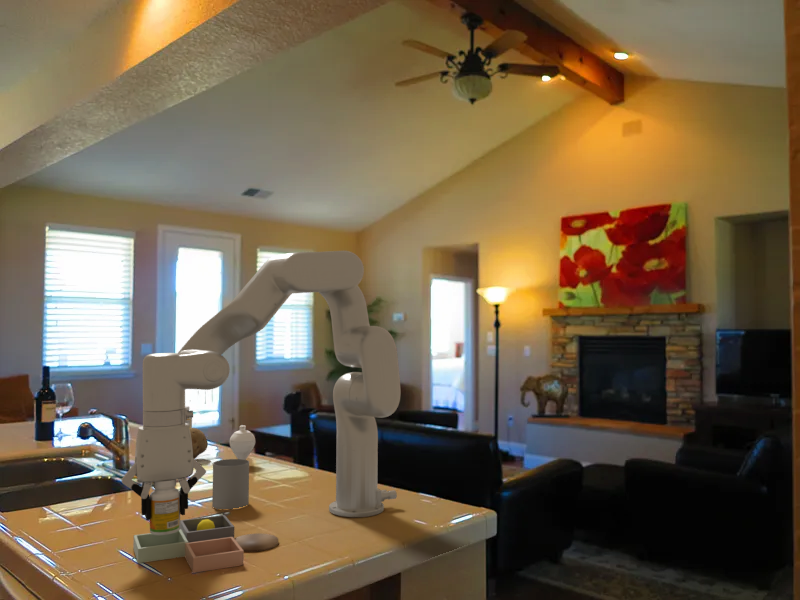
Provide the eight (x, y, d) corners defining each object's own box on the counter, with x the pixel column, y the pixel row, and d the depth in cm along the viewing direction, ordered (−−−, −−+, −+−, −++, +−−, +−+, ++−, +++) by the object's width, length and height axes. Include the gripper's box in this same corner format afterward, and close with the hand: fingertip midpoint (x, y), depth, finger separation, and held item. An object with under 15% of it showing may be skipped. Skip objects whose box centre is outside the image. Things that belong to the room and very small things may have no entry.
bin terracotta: (232, 550, 124) (232, 536, 124) (243, 564, 117) (243, 550, 117) (185, 557, 120) (185, 543, 121) (193, 572, 113) (193, 558, 113)
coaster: (271, 534, 134) (271, 531, 134) (284, 547, 126) (284, 544, 126) (226, 540, 130) (226, 537, 130) (236, 554, 122) (236, 551, 122)
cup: (238, 511, 151) (239, 467, 151) (205, 509, 152) (206, 465, 153) (254, 501, 159) (254, 459, 159) (222, 499, 161) (223, 458, 161)
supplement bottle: (154, 527, 126) (154, 476, 126) (183, 526, 127) (182, 475, 127) (146, 536, 121) (145, 483, 121) (176, 535, 121) (175, 482, 121)
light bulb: (205, 540, 130) (198, 523, 130) (194, 541, 135) (187, 525, 135) (220, 531, 132) (213, 515, 132) (209, 533, 137) (202, 517, 137)
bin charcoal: (224, 526, 139) (224, 514, 139) (234, 539, 131) (234, 526, 131) (179, 532, 135) (179, 520, 135) (186, 546, 127) (186, 532, 127)
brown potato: (198, 455, 214) (199, 425, 215) (212, 459, 208) (213, 428, 208) (172, 459, 208) (172, 427, 208) (186, 464, 201) (186, 431, 202)
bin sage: (180, 542, 129) (180, 529, 129) (188, 555, 121) (188, 542, 121) (133, 548, 125) (133, 535, 125) (137, 563, 117) (138, 548, 117)
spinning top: (260, 464, 201) (260, 425, 202) (241, 469, 195) (242, 428, 195) (242, 461, 205) (242, 423, 206) (223, 466, 199) (224, 426, 199)
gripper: (207, 412, 131) (207, 504, 131) (113, 420, 124) (114, 517, 123) (214, 417, 125) (215, 514, 124) (116, 425, 117) (116, 528, 117)
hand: (165, 514), depth 124 cm, fingers closed on supplement bottle, 5 cm apart
